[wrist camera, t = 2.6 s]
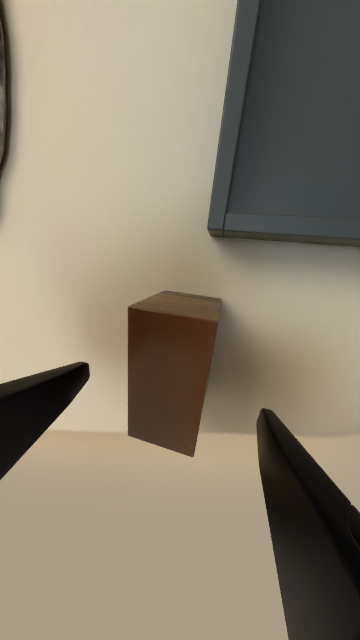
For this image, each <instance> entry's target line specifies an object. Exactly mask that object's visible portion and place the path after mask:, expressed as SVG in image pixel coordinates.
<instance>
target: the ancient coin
mask: <svg viewBox="0 0 360 640" xmlns="http://www.w3.org/2000/svg"><path fill="white" fill-rule="evenodd" d="M5 82H6V67H5V51H4V36H3V29H2V23H1V18H0V164H1V160H2V157H3V153H4V143H5V127H6V88H5Z"/></svg>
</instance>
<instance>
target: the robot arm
mask: <svg viewBox="0 0 360 640" xmlns="http://www.w3.org/2000/svg"><path fill="white" fill-rule="evenodd" d="M89 377H90V372H89V364H88V363H85V362H77V363H74V364H70V365H66V366H63V367H59V368H56V369H52V370H49V371H45V372H41V373H38V374H34V375H31V376H27V377H24V378H20V379H16V380H13V381H9V382H6V383H2V384H0V480H1V479H2V478H3V477H4V475H5V474H6V473H7V472H8V471H9V470H10V469H11V468H12V467H13V466H14V464H15V463H16V462H17V461H18V460H19V459H20V458H21V457H22V456H23V455H24V454H25V453H26V451H27V450H28V449H29V448H30V447H31V446H32V445H33V444H34V443H35V442H36V441H37V439H38V438H39V437H40V436H41V435H42V434H43V433H44V432H45V431H46V430H47V428H48V427H49V426H50V425H51V424H52V423H53V422H54V421H55V420H56V419H57V418H58V416H59V415H60V414H61V413H62V412H63V411H64V410H65V409H66V408H67V407H68V405H69V404H70V403H71V402H72V401H73V399H74V398H75V397H76V395H77V394H78V393H79V391H80V390H81V389H82V388H83V386H84V385H85V384H86V382H87V381H88V380H89ZM256 427H257V441H258V455H259V456H258V457H259V467H260V474H261V480H262V485H263V492H264V497H265V503H266V509H267V515H268V521H269V527H270V533H271V538H272V544H273V550H274V556H275V562H276V567H277V574H278V579H279V585H280V590H281V597H282V603H283V608H284V614H285V621H286V626H287V632H288V638H289V640H360V512H359V511H358V510H357V509H356V508H355V507H354V506H353V505H351V502H350V501H349V500H348V499H347V497H346V496H345V495H344V494H343V493H342V492H341V490H340V489H339V488H338V487H337V486H336V485H335V483H334V482H333V481H332V480H331V479H330V478H329V477H328V475H327V474H326V473H325V472H324V471H323V469H322V468H321V467H320V466H319V465H318V464H317V462H316V461H315V460H314V459H313V458H312V457H311V455H310V454H309V453H308V452H307V451H306V450H305V448H304V447H303V446H302V445H301V444H300V442H299V441H298V440H297V439H296V438H295V437H294V435H293V434H292V433H291V432H290V431H289V430H288V428H287V427H286V426H285V425H284V424H283V423H282V421H281V420H280V419H279V418H278V417H277V416H276V414H275V413H274V412H273V411H272V410H269V409H265V408H262V409H261V411H260V414H259V417H258V420H257V426H256Z"/></svg>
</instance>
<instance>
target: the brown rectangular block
mask: <svg viewBox="0 0 360 640" xmlns="http://www.w3.org/2000/svg"><path fill="white" fill-rule="evenodd" d="M220 304H221V299H219V298H212V297H205V296H198V295H191V294H184V293H177V292H170V291H163V292H160V293H158V294H156V295H153V296H151V297H149V298H146V299H144V300H142V301H140V302H137V303H135V304H133V305H130V306H128V435H129V436H131V437H134V438H137V439H140V440H143V441H146V442H149V443H152V444H155V445H158V446H161V447H164V448H167V449H170V450H173V451H176V452H179V453H181V454H185V455H187V456H190V457H193V456H194V452H195V447H196V441H197V435H198V430H199V425H200V419H201V414H202V408H203V403H204V397H205V391H206V386H207V380H208V375H209V369H210V364H211V358H212V353H213V347H214V342H215V336H216V331H217V325H218V319H219V311H220Z"/></svg>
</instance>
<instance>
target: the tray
mask: <svg viewBox="0 0 360 640" xmlns="http://www.w3.org/2000/svg"><path fill="white" fill-rule="evenodd" d="M207 229H208V231H209V233H210V235H211V236H220V237H234V238H248V239H262V240H275V241H289V242H303V243H317V244H330V245H344V246H358V247H360V0H238V2H237V10H236V17H235V25H234V32H233V40H232V47H231V55H230V62H229V69H228V77H227V84H226V92H225V99H224V107H223V114H222V122H221V129H220V137H219V144H218V152H217V159H216V166H215V174H214V181H213V189H212V196H211V204H210V211H209V219H208V226H207Z"/></svg>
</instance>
